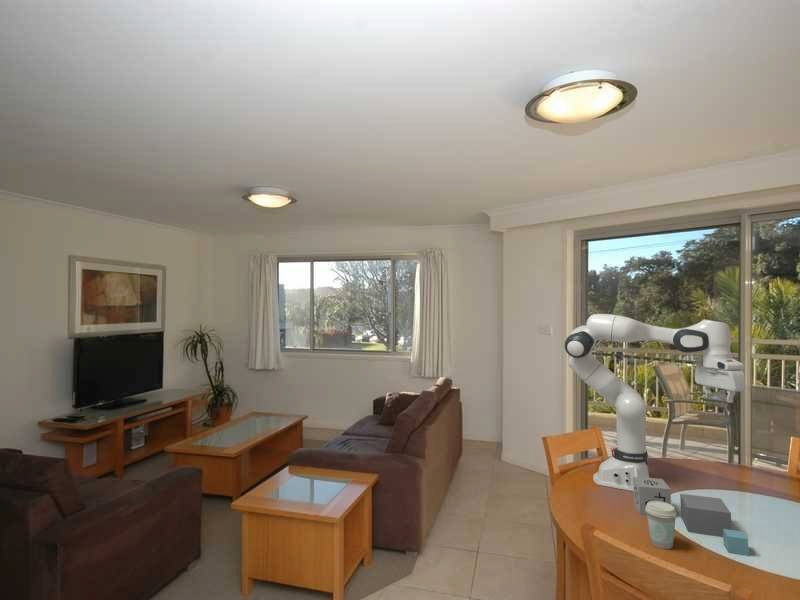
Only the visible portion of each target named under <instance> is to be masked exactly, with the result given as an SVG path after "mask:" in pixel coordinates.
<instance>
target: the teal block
mask: <svg viewBox="0 0 800 600" xmlns="http://www.w3.org/2000/svg"><path fill="white" fill-rule="evenodd" d="M722 538H723V546H724V548H725V549H726V551H727V553H728V554H733V555H740V556H746V557H749V556H750V553H749V539H748V537H747V535H746V534H745V533H744V531H740V530H735V529H734V530H733V529H732V530H728V529H723V537H722Z"/></svg>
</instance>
